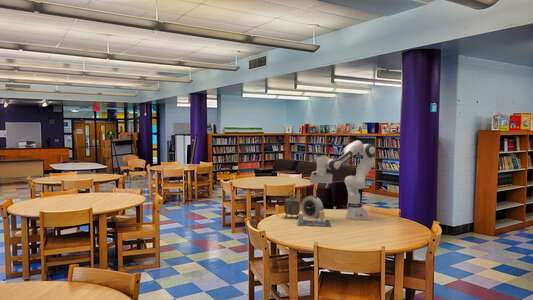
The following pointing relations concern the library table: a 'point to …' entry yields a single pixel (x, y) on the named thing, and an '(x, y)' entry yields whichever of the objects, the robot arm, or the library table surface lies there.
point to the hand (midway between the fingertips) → (320, 188)
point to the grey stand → (320, 219)
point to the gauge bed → (309, 223)
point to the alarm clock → (311, 206)
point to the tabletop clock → (292, 205)
